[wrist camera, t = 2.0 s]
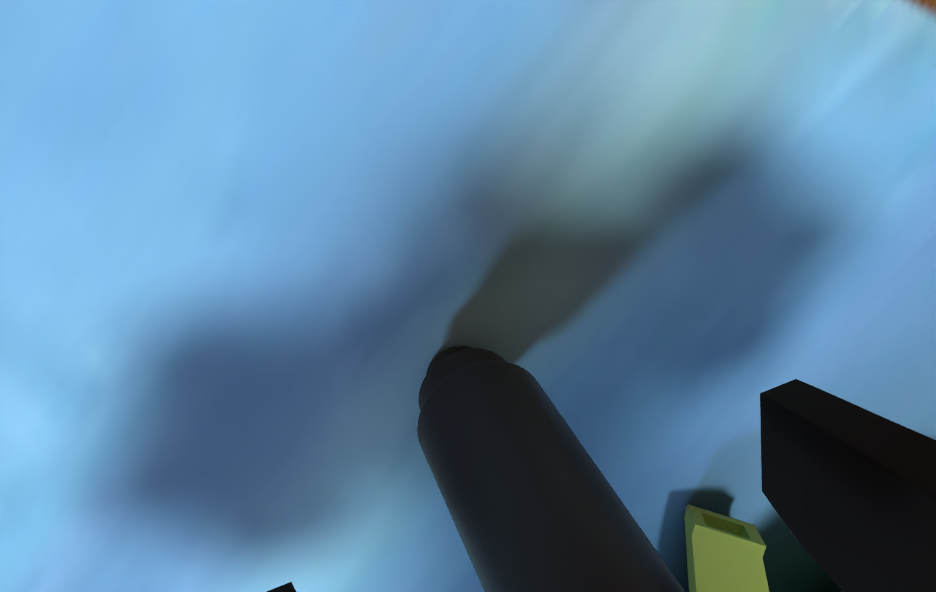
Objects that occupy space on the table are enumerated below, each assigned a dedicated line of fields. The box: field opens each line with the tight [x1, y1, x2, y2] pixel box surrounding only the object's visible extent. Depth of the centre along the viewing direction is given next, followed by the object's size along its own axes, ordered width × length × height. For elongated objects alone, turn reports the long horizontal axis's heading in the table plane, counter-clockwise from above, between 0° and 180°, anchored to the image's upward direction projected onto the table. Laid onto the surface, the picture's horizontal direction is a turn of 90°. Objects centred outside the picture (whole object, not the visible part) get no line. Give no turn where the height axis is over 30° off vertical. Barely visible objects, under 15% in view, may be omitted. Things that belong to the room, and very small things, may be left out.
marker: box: [417, 346, 685, 592], centre depth 12 cm, size 2×2×9 cm
